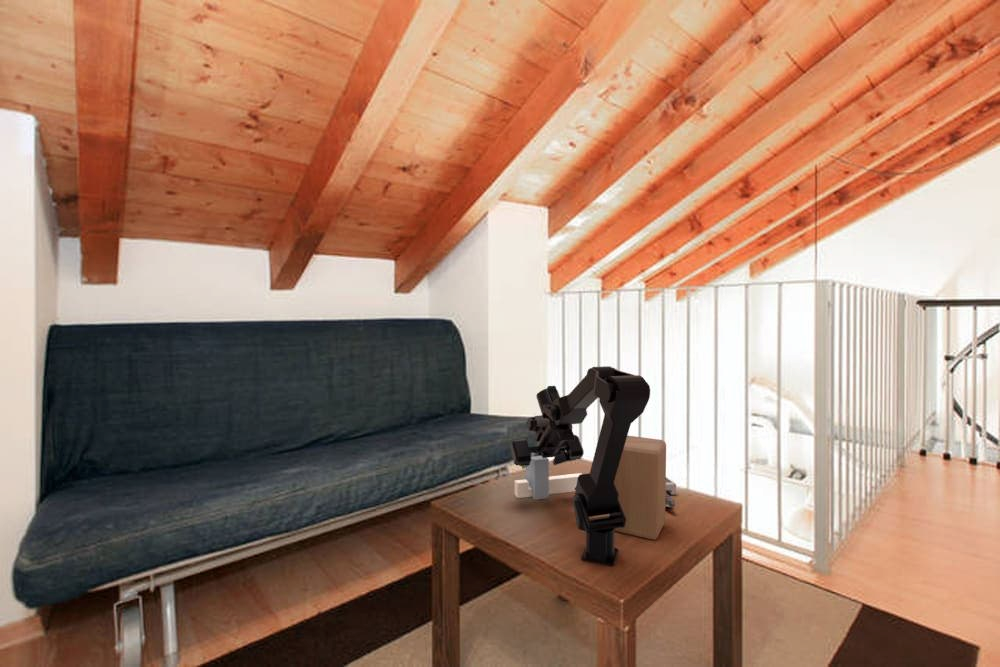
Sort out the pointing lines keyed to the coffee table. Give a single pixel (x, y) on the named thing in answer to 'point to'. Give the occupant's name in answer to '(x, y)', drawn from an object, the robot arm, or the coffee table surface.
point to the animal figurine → (669, 501)
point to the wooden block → (642, 486)
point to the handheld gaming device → (670, 487)
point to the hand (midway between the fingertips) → (538, 465)
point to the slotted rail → (555, 485)
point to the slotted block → (538, 477)
